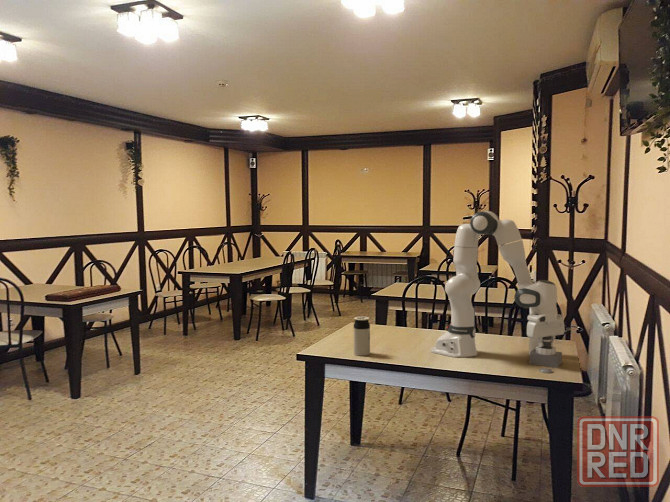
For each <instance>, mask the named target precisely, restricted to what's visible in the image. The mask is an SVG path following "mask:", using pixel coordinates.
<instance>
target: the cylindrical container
mask: <svg viewBox="0 0 670 502" xmlns="http://www.w3.org/2000/svg"><path fill="white" fill-rule="evenodd" d="M535 311H536V307H529V315H530V314H532V313H534V312H535ZM537 345H539V343H538V341H537V338H534V339H533V338H529V337H528V355H529V356H530V352H531V351H533V350H534V349H535V348H536V346H537Z"/></svg>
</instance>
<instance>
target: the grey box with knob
mask: <svg viewBox="0 0 670 502" xmlns="http://www.w3.org/2000/svg"><path fill="white" fill-rule="evenodd" d="M562 363H563V352H562V351H557V348H556V346H554V345H551V349H544V348H541V347H539V345H537V346H536V348H535V349H534V350H533V351H531V352H530V355H529V365H537V366H544V367H550V368H557V369H558V368H559V367H560V366H561V364H562Z"/></svg>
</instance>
